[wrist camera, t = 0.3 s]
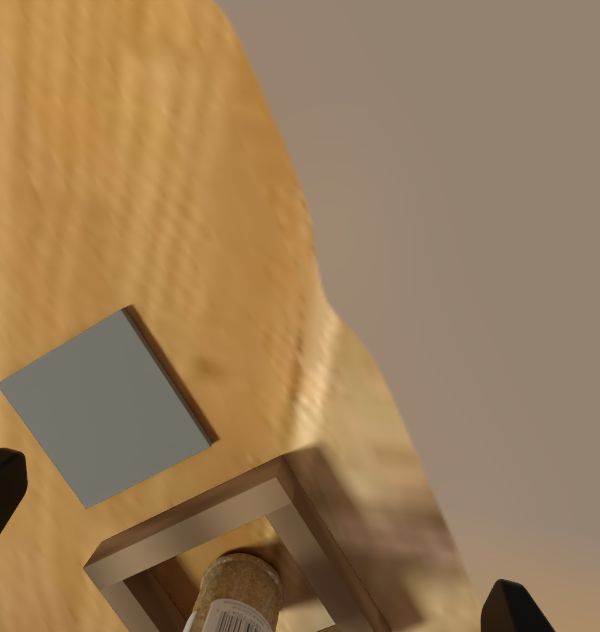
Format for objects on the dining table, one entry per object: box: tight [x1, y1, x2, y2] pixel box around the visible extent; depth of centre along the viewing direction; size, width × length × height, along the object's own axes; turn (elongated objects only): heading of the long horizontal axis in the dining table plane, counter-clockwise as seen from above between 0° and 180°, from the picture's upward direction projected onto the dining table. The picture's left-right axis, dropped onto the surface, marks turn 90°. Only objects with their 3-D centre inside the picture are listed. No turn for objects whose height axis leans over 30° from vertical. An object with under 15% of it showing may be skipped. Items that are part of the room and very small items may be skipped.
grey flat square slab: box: [0, 308, 212, 509], centre depth 26 cm, size 8×8×1 cm
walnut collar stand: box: [83, 455, 391, 632], centre depth 27 cm, size 12×12×2 cm
